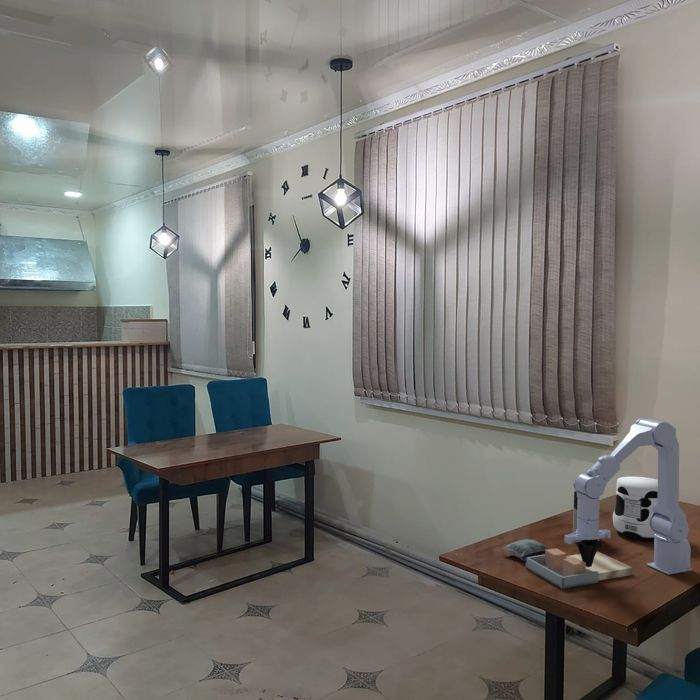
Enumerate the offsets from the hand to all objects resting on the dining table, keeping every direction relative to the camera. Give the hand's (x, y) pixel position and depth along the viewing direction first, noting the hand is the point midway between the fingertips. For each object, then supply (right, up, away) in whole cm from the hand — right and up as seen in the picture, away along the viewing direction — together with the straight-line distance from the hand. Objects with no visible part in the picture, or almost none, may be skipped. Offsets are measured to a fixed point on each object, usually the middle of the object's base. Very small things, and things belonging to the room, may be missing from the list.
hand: (587, 565), depth 180 cm
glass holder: (+10, -2, +30) cm, 32 cm away
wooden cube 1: (-5, 0, +6) cm, 8 cm away
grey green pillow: (-13, -3, +16) cm, 21 cm away
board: (+5, -3, +6) cm, 8 cm away
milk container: (+31, -2, +36) cm, 48 cm away
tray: (-7, -3, +1) cm, 8 cm away
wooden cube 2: (-2, 0, -1) cm, 3 cm away
